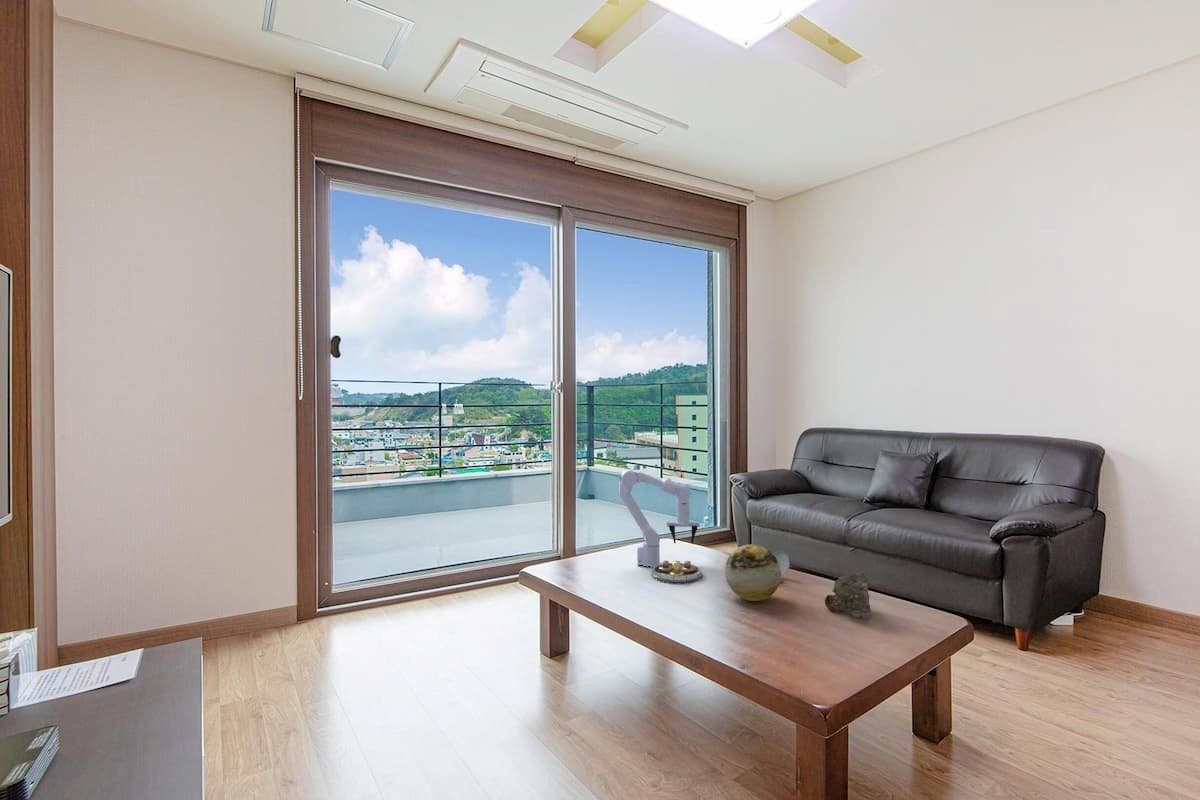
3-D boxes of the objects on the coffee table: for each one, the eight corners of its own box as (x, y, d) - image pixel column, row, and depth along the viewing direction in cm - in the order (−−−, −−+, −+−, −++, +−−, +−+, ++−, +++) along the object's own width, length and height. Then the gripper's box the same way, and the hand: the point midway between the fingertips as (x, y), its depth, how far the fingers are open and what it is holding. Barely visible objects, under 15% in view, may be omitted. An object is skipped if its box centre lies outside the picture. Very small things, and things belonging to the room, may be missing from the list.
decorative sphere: (718, 604, 218) (717, 548, 218) (733, 588, 235) (732, 536, 235) (775, 612, 209) (774, 554, 208) (786, 595, 226) (785, 541, 226)
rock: (880, 568, 200) (832, 556, 206) (873, 609, 192) (824, 595, 198) (874, 592, 213) (829, 580, 219) (867, 631, 205) (821, 617, 211)
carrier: (643, 579, 249) (643, 566, 249) (663, 566, 267) (663, 554, 267) (691, 586, 239) (691, 573, 239) (708, 572, 257) (708, 560, 257)
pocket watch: (792, 553, 244) (765, 559, 236) (792, 580, 244) (766, 587, 236) (772, 548, 253) (746, 553, 245) (773, 574, 253) (747, 580, 245)
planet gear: (666, 577, 246) (666, 562, 246) (672, 573, 251) (672, 559, 251) (680, 579, 243) (680, 564, 243) (686, 575, 248) (686, 560, 248)
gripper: (666, 513, 267) (666, 544, 267) (699, 514, 265) (700, 545, 265) (666, 510, 274) (667, 540, 274) (699, 511, 272) (699, 541, 272)
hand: (683, 542), depth 270 cm, fingers open, 7 cm apart
